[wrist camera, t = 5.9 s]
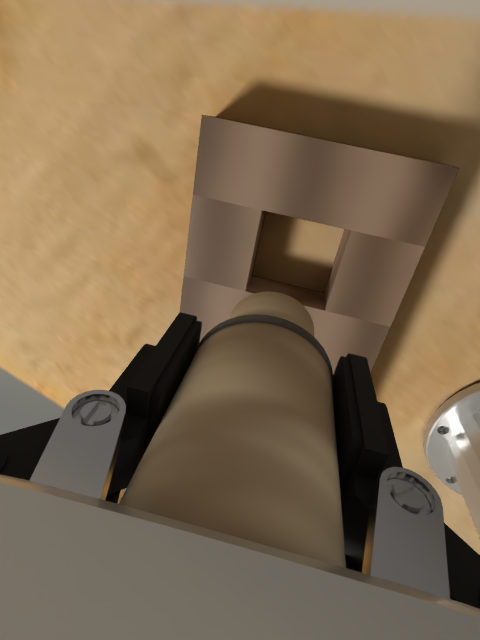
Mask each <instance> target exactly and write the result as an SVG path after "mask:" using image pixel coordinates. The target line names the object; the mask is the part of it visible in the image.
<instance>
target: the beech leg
mask: <svg viewBox="0 0 480 640" xmlns="http://www.w3.org/2000/svg"><path fill="white" fill-rule="evenodd" d="M333 389H334V382H333V371H332V366H331V362H330V360H329V357H328V355H327V353H326V351H325V350H324V348H323V347H322V345H321V344H320V343H319V341H318V340H317V339H316V338H315V337H314V324H313V321H312V318H311V316H310V314H309V312H308V311H307V310H306V308H305V307H304V306H303V305H302V304H301V303H300V302H298V301H297V300H295V299H294V298H292V297H290V296H288V295H285V294H282V293H278V292H259V293H255V294H252V295H250V296H248V297H246V298H244V299H243V300H241V301H240V302H239V303H238V304H237V305H236V306H235V307H234V309H233V310H232V312H231V314H230V316H229V319H228V320H226V321H224V322H222V323H220V324H218V325H217V326H215V327H214V328H212V329H211V330H210V331H209V332H208V333H207V334H206V335H205V336H204V337H203V338H202V340H201V341H200V343H199V345H198V346H197V348H196V350H195V352H194V356H193V360H192V362H191V364H190V366H189V367H188V369H187V371H186V373H185V375H184V377H183V379H182V381H181V383H180V385H179V387H178V389H177V391H176V393H175V395H174V397H173V399H172V401H171V403H170V405H169V407H168V409H167V410H166V412H165V414H164V416H163V418H162V420H161V422H160V424H159V426H158V428H157V430H156V432H155V434H154V436H153V438H152V440H151V442H150V444H149V446H148V448H147V450H146V452H145V453H144V455H143V457H142V459H141V461H140V463H139V465H138V467H137V469H136V471H135V473H134V475H133V477H132V479H131V481H130V483H129V485H128V487H127V489H126V491H125V493H124V495H123V497H122V498H121V500H120V502H119V504H120V505H123V506H127V507H131V508H134V509H138V510H141V511H145V512H149V513H152V514H156V515H160V516H163V517H167V518H170V519H174V520H178V521H181V522H185V523H188V524H192V525H196V526H199V527H203V528H206V529H210V530H213V531H217V532H220V533H224V534H228V535H231V536H235V537H238V538H242V539H245V540H249V541H252V542H256V543H259V544H263V545H267V546H270V547H274V548H277V549H281V550H284V551H288V552H291V553H295V554H298V555H302V556H305V557H309V558H312V559H316V560H319V561H323V562H326V563H330V564H333V565H337V566H340V567H344V568H346V560H345V547H344V534H343V521H342V508H341V495H340V482H339V469H338V456H337V443H336V430H335V417H334V404H333Z"/></svg>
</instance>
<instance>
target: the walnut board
mask: <svg viewBox="0 0 480 640" xmlns="http://www.w3.org/2000/svg"><path fill="white" fill-rule="evenodd" d="M458 170H459V168H457V167H453V166H449V165H446V164H441V163H437V162H432V161H427V160H422V159H417V158H412V157H408V156H403V155H398V154H393V153H388V152H383V151H378V150H374V149H369V148H364V147H359V146H354V145H349V144H345V143H340V142H335V141H330V140H325V139H320V138H315V137H311V136H306V135H301V134H296V133H291V132H286V131H282V130H277V129H272V128H267V127H262V126H257V125H252V124H248V123H243V122H238V121H233V120H228V119H223V118H219V117H213V116H206V115H202V119H201V128H200V137H199V146H198V155H197V163H196V172H195V181H194V190H193V199H192V208H191V217H190V225H189V234H188V243H187V252H186V261H185V270H184V279H183V287H182V296H181V305H180V312H182V313H186V314H190V315H194V316H197V321H200V322H202V328H201V335H200V341H201V340H202V338H203V337H204V336H205V335H206V334H207V333H208V332H209V331H210V330H211V329H212V328H214V327H215V326H217V325H218V324H220V323H222V322H224V321H226V320H228V319H229V316H230V314H231V312H232V310H233V309H234V307H235V306H236V305H237V304H238V303H239V302H240V301H241V300H243V299H244V298H246V297H248V296H250V295H252V294H255V293H259V292H278V293H282V294H285V295H288V296H290V297H292V298H294V299H295V300H297V301H298V302H300V303H301V304H302V305H303V306H304V307H305V308H306V310H307V311H308V312H309V314H310V316H311V318H312V321H313V324H314V337H315V338H316V339H317V340H318V341H319V343H320V344H321V345H322V347H323V348H324V350H325V351H326V353H327V355H328V357H329V360H330V362H331V366H332V371H333V374H334V371H335V369H336V366H337V363H338V361H339V358H340V357H341V356H344V357H346V356H347V354H348V353H350V354H354V355H359V356H363V357H366V358H367V360H368V365H369V369H370V373H371V370H372V368H373V366H374V363H375V361H376V359H377V356H378V354H379V352H380V350H381V347H382V345H383V343H384V340H385V338H386V336H387V333H388V331H389V329H390V327H391V324H392V322H393V320H394V317H395V315H396V313H397V310H398V308H399V306H400V304H401V301H402V299H403V297H404V294H405V292H406V290H407V288H408V285H409V283H410V281H411V278H412V276H413V274H414V271H415V269H416V267H417V265H418V262H419V260H420V258H421V255H422V253H423V251H424V248H425V246H426V244H427V242H428V239H429V237H430V235H431V232H432V230H433V228H434V225H435V223H436V221H437V219H438V216H439V214H440V212H441V209H442V207H443V205H444V203H445V200H446V198H447V196H448V193H449V191H450V189H451V186H452V184H453V182H454V180H455V177H456V175H457V173H458ZM266 211H268V212H272V213H277V214H281V215H285V216H290V217H294V218H299V219H303V220H308V221H312V222H317V223H321V224H325V225H330V226H334V227H339V228H343V229H345V230H344V233H343V236H342V239H341V242H340V245H339V248H338V252H337V255H336V258H335V261H334V264H333V267H332V270H331V274H330V277H329V280H328V283H327V286H326V289H325V292H324V293H321V292H317V291H313V290H309V289H305V288H301V287H296V286H292V285H288V284H284V283H280V282H276V281H271V280H267V279H263V278H259V277H255V276H252V275H253V270H254V265H255V260H256V256H257V251H258V246H259V241H260V236H261V232H262V227H263V222H264V217H265V213H266ZM199 343H200V342H199Z"/></svg>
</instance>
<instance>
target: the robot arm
mask: <svg viewBox="0 0 480 640" xmlns="http://www.w3.org/2000/svg"><path fill="white" fill-rule="evenodd" d="M201 328H202V322H200V321H197V316H194V315H190V314H186V313H182V312H180V313H179V314H178V316H177V317H176V318H175V320H174V321H173V323H172V324H171V325H170V327H169V328H168V330H167V331H166V333H165V334H164V335H163V337H162V338H161V340H160V341H159V342H158V344H157V345H156V346H153V345H149V344H145V345H144V346H143V347H142V348H141V350H140V351H139V352H138V354H137V355H136V356H135V357H134V359H133V360H132V361H131V363H130V364H129V365H128V367H127V368H126V369H125V371H124V372H123V373H122V374H121V376H120V377H119V378H118V380H117V381H116V382H115V384H114V385H113V386H112V388H111V389H110V390H109V391H106V390H92V391H88V392H84V393H82V394H79V395H77V396H76V397H74V398H73V399H72V400H70V402H69V403H68V404H67V406H66V407H65V409H64V411H63V413H62V415H61V417H60V418H58V419H55V420H51V421H48V422H44V423H41V424H37V425H34V426H30V427H27V428H23V429H20V430H17V431H13V432H9V433H6V434H2V435H0V640H480V555H479V554H477V553H476V552H475V551H474V550H473V549H472V548H471V547H470V546H469V545H468V544H467V543H466V542H464V541H463V540H462V539H461V538H460V537H459V536H458V535H457V534H456V533H455V532H454V531H452V530H451V529H450V528H449V527H448V526H447V525H446V524H445V523H444V518H443V507H442V503H441V499H440V497H439V495H438V493H437V492H436V490H435V489H434V488H433V487H432V485H431V484H430V483H429V482H428V481H427V480H425V479H424V478H423V477H422V476H420V475H419V474H417V473H415V472H413V471H411V470H408V469H405V468H403V467H402V463H401V459H400V456H399V452H398V448H397V444H396V440H395V437H394V433H393V429H392V425H391V421H390V418H389V414H388V410H387V407H386V405H385V404H384V403H381V402H377V399H376V394H375V390H374V386H373V382H372V377H371V373H370V369H369V365H368V360H367V358H366V357H363V356H359V355H354V354H350V353H348V354H347V356H346V357H344V356H341V357H340V358H339V361H338V363H337V366H336V369H335V371H334V374H333V382H334V389H333V404H334V417H335V430H336V443H337V456H338V469H339V482H340V495H341V508H342V521H343V534H344V547H345V560H346V568H344V567H340V566H337V565H333V564H330V563H326V562H323V561H319V560H316V559H312V558H309V557H305V556H302V555H298V554H295V553H291V552H288V551H284V550H281V549H277V548H274V547H270V546H267V545H263V544H259V543H256V542H252V541H249V540H245V539H242V538H238V537H235V536H231V535H228V534H224V533H220V532H217V531H213V530H210V529H206V528H203V527H199V526H196V525H192V524H188V523H185V522H181V521H178V520H174V519H170V518H167V517H163V516H160V515H156V514H152V513H149V512H145V511H141V510H138V509H134V508H131V507H127V506H123V505H120V504H119V502H120V500H121V498H122V494H123V489H125V488H127V487H128V485H129V483H130V481H131V479H132V477H133V475H134V473H135V471H136V469H137V467H138V465H139V463H140V461H141V459H142V457H143V455H144V453H145V452H146V450H147V448H148V446H149V444H150V442H151V440H152V438H153V436H154V434H155V432H156V430H157V428H158V426H159V424H160V422H161V420H162V418H163V416H164V414H165V412H166V410H167V409H168V407H169V405H170V403H171V401H172V399H173V397H174V395H175V393H176V391H177V389H178V387H179V385H180V383H181V381H182V379H183V377H184V375H185V373H186V371H187V369H188V367H189V366H190V364H191V362H192V360H193V356H194V352H195V350H196V348H197V346H198V345H199V342H200V335H201ZM423 445H424V450H425V455H426V458H427V460H428V463H429V466H430V468H431V470H432V471H433V473H434V474H435V476H436V477H437V478H438V479H439V480H440V481H441V482H442V483H443V484H444V485H446V486H447V487H449V488H450V489H452V490H454V491H455V492H457V493H459V494H462V495H463V498H464V500H465V503H466V506H467V508H468V511H469V513H470V516H471V518H472V521H473V523H474V526H475V528H476V531H477V533H478V536H479V538H480V383H477V384H474V385H472V386H470V387H468V388H466V389H464V390H462V391H460V392H458V393H457V394H455V395H454V396H452V397H451V398H449V399H448V400H447V401H445V402H444V403H443V404H442V405H441V406H440V407H439V408H438V409H437V410H436V411H435V413H434V414H433V416H432V417H431V419H430V420H429V422H428V424H427V427H426V430H425V433H424V443H423Z"/></svg>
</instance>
